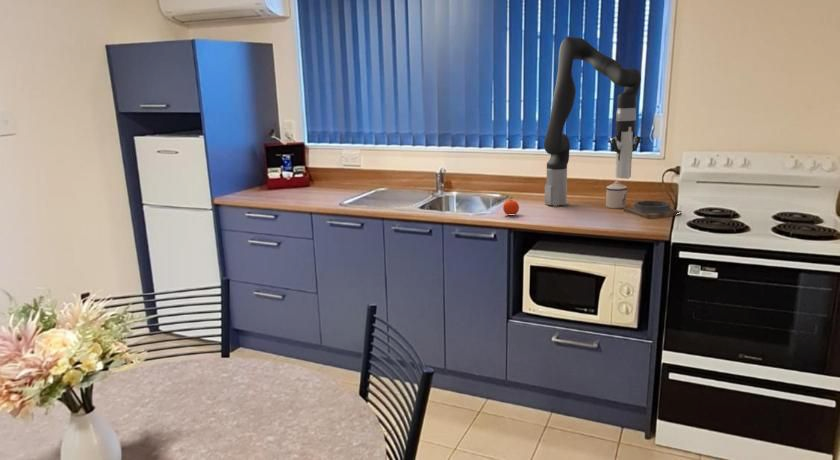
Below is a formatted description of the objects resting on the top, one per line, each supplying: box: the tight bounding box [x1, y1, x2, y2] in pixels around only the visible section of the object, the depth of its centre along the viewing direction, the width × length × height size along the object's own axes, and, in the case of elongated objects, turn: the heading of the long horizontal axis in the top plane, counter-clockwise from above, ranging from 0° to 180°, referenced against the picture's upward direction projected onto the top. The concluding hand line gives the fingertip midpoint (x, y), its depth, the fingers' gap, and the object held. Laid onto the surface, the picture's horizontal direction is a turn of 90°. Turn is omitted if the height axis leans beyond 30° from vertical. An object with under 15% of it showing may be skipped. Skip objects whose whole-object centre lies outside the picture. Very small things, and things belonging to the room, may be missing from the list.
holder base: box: [623, 200, 682, 220], centre depth 250 cm, size 16×17×4 cm
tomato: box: [502, 199, 520, 215], centre depth 258 cm, size 8×7×7 cm
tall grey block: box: [615, 127, 633, 180], centre depth 240 cm, size 7×6×21 cm
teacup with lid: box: [605, 180, 628, 209], centre depth 266 cm, size 12×9×12 cm
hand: (624, 161), depth 241 cm, fingers closed on tall grey block, 3 cm apart
